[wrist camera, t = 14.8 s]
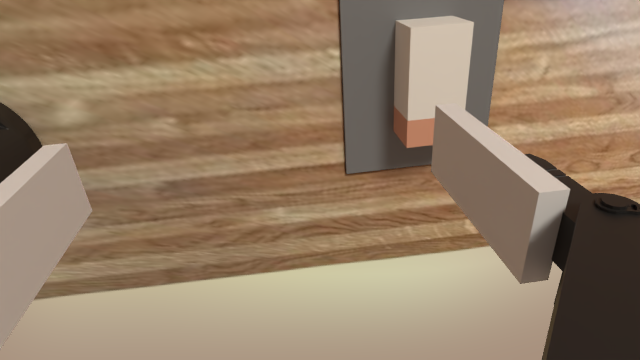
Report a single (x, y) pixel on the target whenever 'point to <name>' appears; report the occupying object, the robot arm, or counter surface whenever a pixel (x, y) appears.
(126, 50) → the counter surface
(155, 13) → the counter surface
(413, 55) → the pink tipped block
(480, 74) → the mat
